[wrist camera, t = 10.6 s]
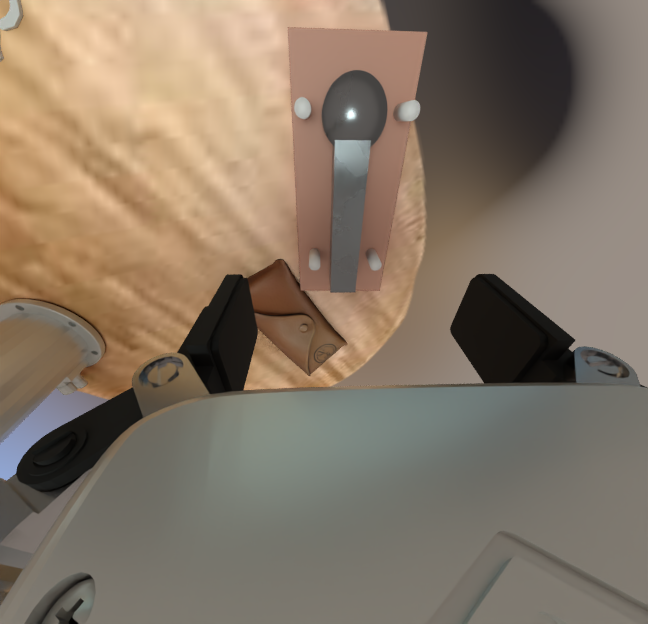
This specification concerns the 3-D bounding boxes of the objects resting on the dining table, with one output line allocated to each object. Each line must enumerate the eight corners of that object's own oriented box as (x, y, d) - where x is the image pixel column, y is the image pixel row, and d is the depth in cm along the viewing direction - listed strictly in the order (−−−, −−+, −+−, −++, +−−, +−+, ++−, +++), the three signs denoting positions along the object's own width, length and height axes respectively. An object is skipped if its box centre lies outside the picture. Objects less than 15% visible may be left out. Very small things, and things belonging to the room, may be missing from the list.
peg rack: (377, 286, 32) (384, 304, 29) (300, 286, 31) (299, 304, 28) (422, 36, 18) (444, 17, 15) (289, 31, 18) (283, 11, 15)
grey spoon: (360, 278, 30) (364, 292, 28) (321, 279, 30) (321, 292, 27) (383, 77, 19) (392, 70, 17) (321, 76, 19) (322, 69, 16)
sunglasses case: (352, 344, 38) (335, 383, 35) (319, 343, 43) (302, 377, 39) (280, 253, 29) (247, 294, 25) (248, 265, 33) (216, 300, 30)
